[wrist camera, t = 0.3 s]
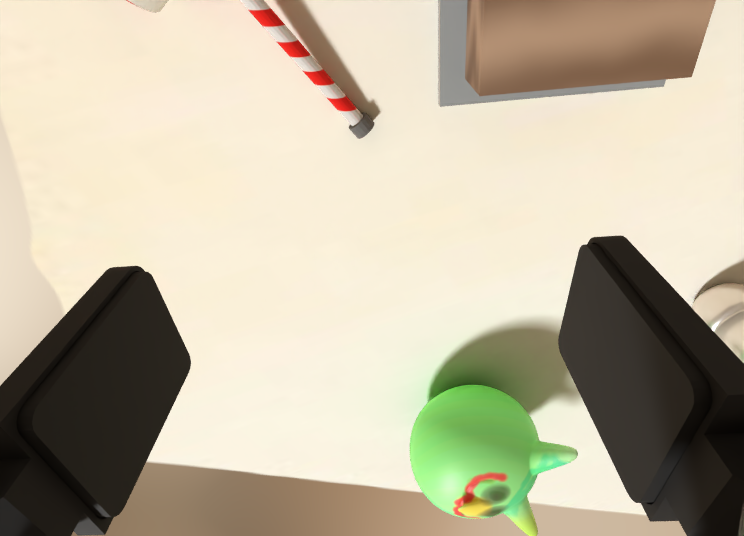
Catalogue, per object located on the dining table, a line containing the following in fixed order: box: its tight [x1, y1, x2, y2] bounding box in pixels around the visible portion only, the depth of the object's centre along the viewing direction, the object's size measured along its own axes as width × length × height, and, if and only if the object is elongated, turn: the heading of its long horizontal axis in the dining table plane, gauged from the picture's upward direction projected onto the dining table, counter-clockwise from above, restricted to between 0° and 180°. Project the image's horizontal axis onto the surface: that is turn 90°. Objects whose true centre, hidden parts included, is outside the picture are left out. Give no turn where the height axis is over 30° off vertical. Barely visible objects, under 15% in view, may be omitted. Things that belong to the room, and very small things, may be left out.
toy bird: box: [410, 385, 578, 536], centre depth 53 cm, size 18×17×15 cm
